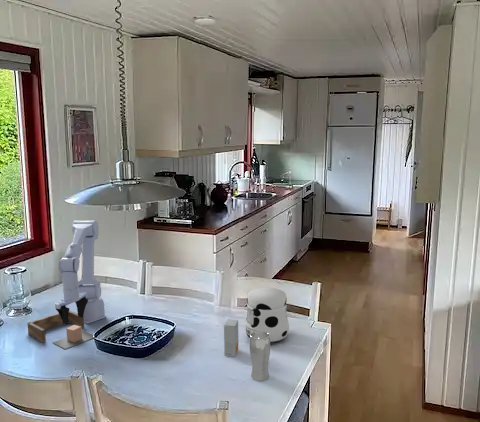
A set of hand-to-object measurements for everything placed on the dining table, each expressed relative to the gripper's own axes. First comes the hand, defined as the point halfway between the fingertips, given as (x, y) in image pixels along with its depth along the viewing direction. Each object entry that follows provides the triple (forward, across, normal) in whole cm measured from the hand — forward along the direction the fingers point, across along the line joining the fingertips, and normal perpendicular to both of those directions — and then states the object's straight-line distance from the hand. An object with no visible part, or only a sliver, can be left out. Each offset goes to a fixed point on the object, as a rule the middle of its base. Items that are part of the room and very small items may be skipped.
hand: (73, 320), depth 193 cm
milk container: (+9, -38, +67) cm, 77 cm away
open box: (+8, -1, -8) cm, 11 cm away
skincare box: (+9, -20, +61) cm, 65 cm away
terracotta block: (+8, 0, 0) cm, 8 cm away
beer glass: (+9, -9, +78) cm, 79 cm away
